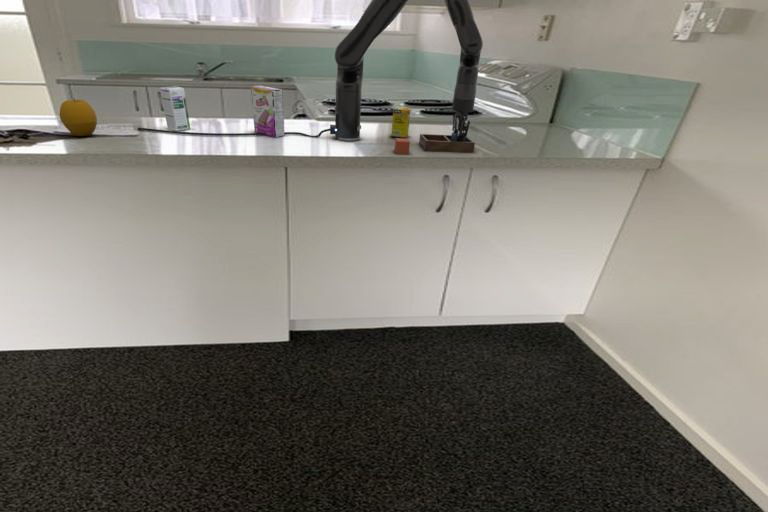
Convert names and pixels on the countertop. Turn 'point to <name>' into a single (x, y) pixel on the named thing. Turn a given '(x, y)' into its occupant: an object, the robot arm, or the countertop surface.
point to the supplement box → (400, 122)
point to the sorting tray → (445, 143)
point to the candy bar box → (268, 110)
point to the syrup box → (175, 108)
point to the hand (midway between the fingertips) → (457, 145)
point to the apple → (78, 117)
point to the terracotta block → (401, 146)
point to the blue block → (454, 137)
